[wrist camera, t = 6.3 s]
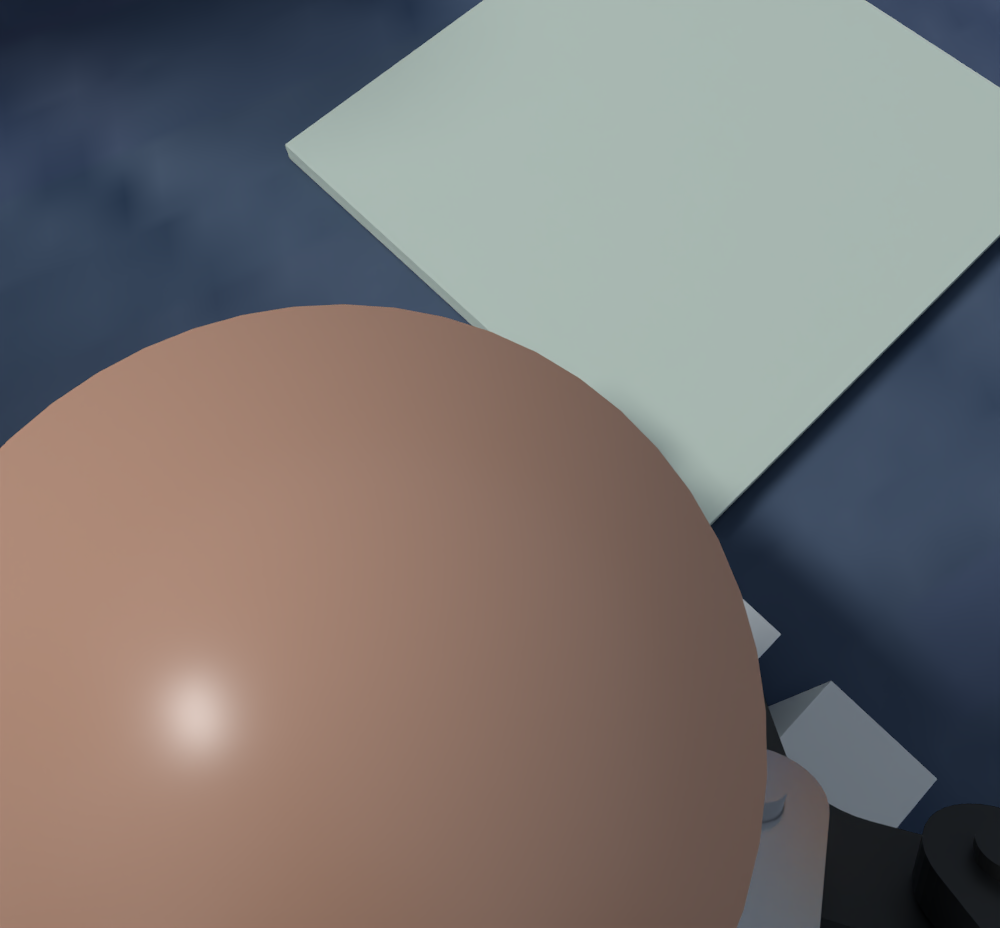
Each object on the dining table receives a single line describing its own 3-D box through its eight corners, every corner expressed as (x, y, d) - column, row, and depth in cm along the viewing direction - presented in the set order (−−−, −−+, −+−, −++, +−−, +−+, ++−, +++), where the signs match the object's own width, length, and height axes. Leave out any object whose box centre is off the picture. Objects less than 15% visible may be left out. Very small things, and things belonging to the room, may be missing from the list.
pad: (289, 158, 23) (284, 144, 22) (660, -114, 26) (663, -131, 26) (701, 534, 19) (705, 528, 18) (1076, 159, 22) (1088, 145, 22)
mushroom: (268, 772, 17) (-328, 688, 5) (464, 590, 18) (356, 174, 6) (448, 996, 16) (212, 1606, 4) (648, 782, 17) (961, 714, 5)
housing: (83, 767, 17) (-37, 756, 14) (472, 426, 20) (461, 337, 16) (442, 1255, 15) (414, 1410, 11) (846, 785, 17) (937, 778, 13)
